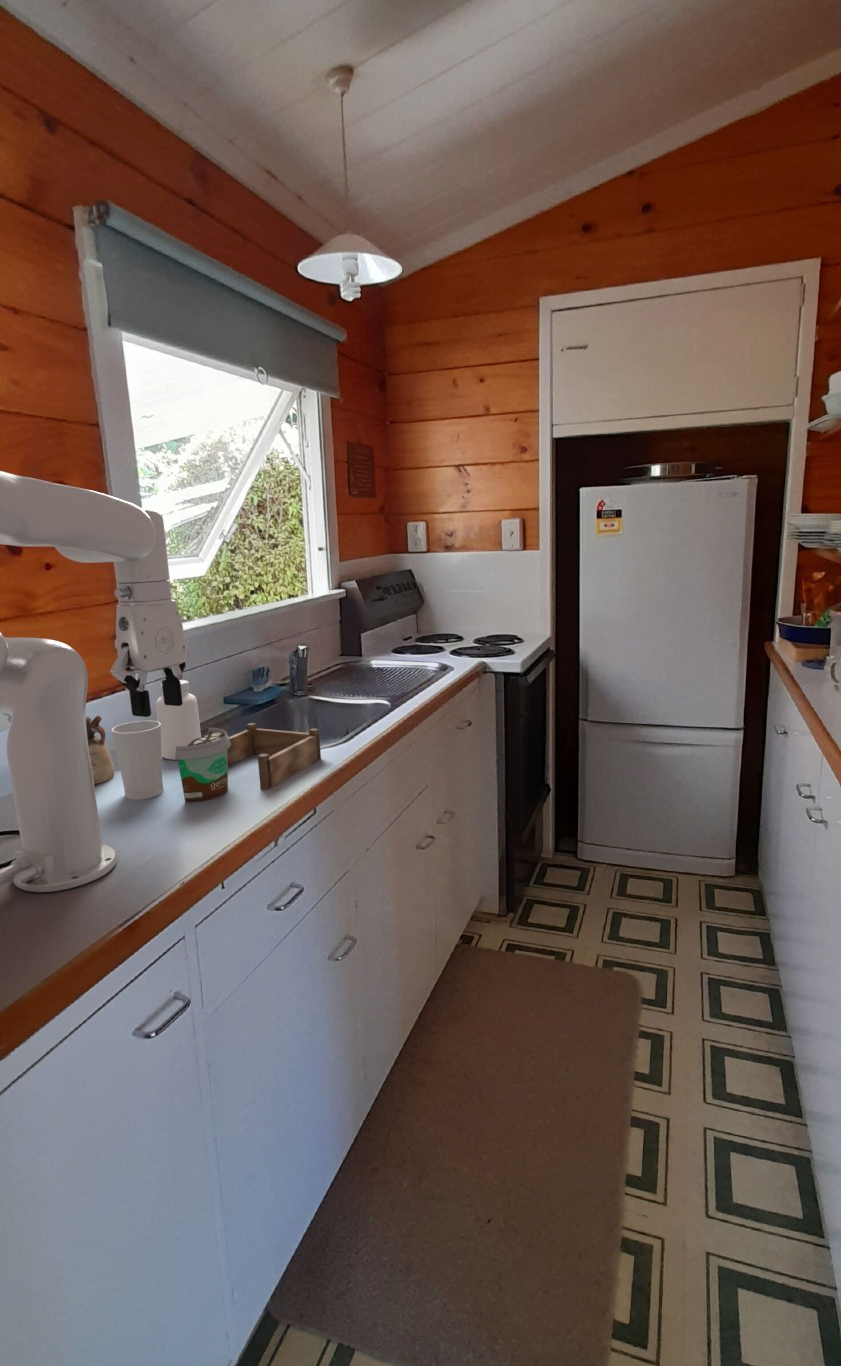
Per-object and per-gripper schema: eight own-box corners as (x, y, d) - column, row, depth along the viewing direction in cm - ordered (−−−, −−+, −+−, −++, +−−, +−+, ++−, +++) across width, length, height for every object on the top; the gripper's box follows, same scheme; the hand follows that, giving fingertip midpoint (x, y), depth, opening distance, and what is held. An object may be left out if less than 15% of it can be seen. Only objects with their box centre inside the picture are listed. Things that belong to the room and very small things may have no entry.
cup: (137, 784, 133) (128, 720, 131) (177, 785, 131) (169, 720, 129) (110, 800, 125) (101, 732, 123) (152, 802, 124) (144, 733, 121)
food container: (214, 807, 121) (208, 748, 119) (180, 805, 122) (174, 747, 120) (246, 781, 133) (241, 727, 130) (215, 780, 134) (209, 726, 132)
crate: (267, 789, 128) (264, 756, 126) (193, 780, 134) (190, 748, 133) (320, 758, 144) (318, 728, 143) (252, 751, 150) (250, 722, 149)
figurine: (84, 772, 141) (76, 712, 138) (121, 772, 140) (113, 710, 138) (65, 786, 134) (56, 722, 131) (104, 785, 133) (95, 721, 131)
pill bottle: (191, 746, 155) (184, 676, 152) (209, 754, 150) (202, 681, 146) (155, 755, 150) (146, 683, 147) (172, 763, 144) (163, 688, 141)
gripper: (119, 599, 101) (135, 726, 105) (203, 588, 116) (214, 699, 120) (79, 599, 104) (95, 723, 108) (165, 588, 119) (177, 696, 123)
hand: (158, 709), depth 114 cm, fingers open, 6 cm apart
